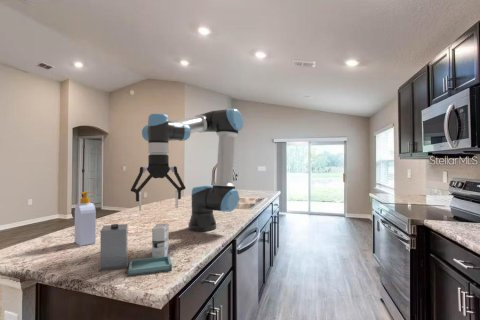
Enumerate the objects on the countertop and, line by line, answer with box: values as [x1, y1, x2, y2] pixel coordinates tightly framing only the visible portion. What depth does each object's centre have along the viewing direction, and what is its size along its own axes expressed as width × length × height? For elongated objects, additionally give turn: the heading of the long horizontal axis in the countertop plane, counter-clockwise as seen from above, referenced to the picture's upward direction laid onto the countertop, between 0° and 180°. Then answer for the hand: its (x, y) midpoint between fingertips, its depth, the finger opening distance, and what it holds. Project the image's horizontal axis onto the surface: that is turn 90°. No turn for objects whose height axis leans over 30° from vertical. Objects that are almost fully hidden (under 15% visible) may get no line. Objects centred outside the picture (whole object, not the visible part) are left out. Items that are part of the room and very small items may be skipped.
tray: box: [128, 255, 173, 277], centre depth 95 cm, size 14×10×2 cm
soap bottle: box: [74, 191, 97, 247], centre depth 124 cm, size 9×7×23 cm
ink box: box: [151, 223, 170, 258], centre depth 107 cm, size 8×5×12 cm, turn 5°
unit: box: [98, 223, 130, 272], centre depth 98 cm, size 9×9×14 cm
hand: (158, 208), depth 107 cm, fingers open, 13 cm apart
